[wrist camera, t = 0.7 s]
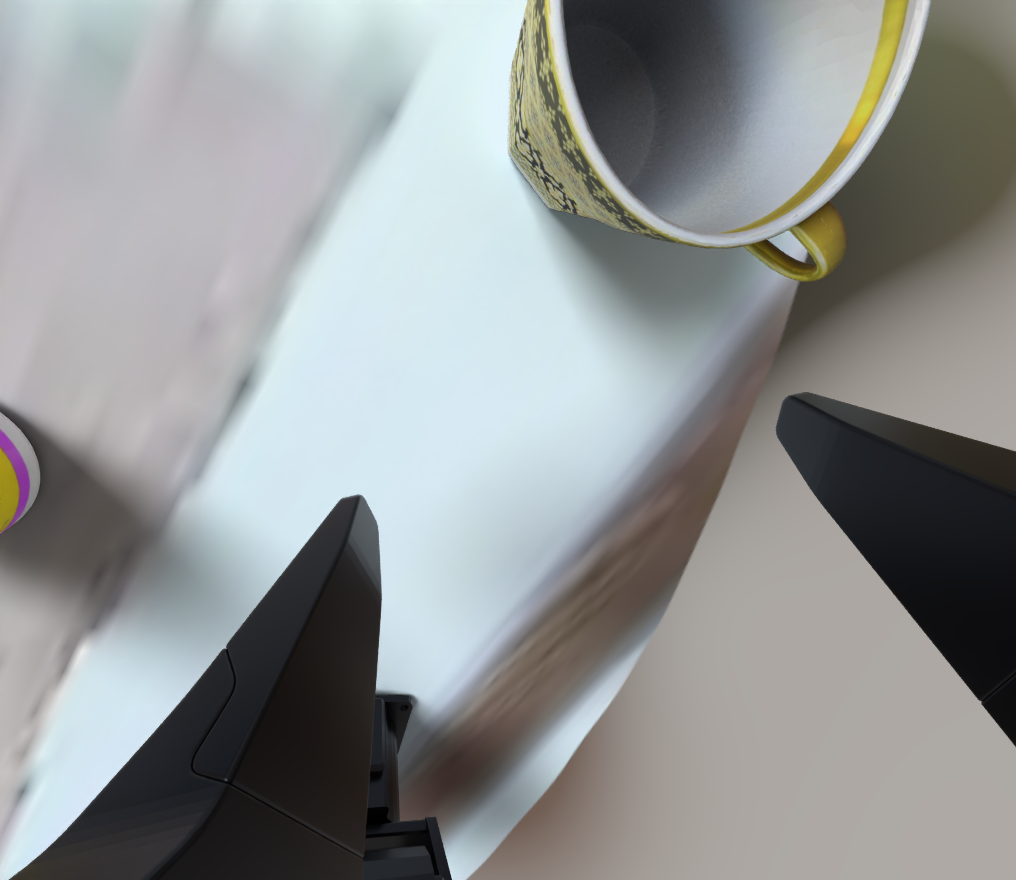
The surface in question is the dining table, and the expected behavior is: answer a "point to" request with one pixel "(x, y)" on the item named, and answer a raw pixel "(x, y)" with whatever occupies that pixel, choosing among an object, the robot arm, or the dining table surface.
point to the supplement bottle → (16, 474)
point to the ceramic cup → (709, 114)
